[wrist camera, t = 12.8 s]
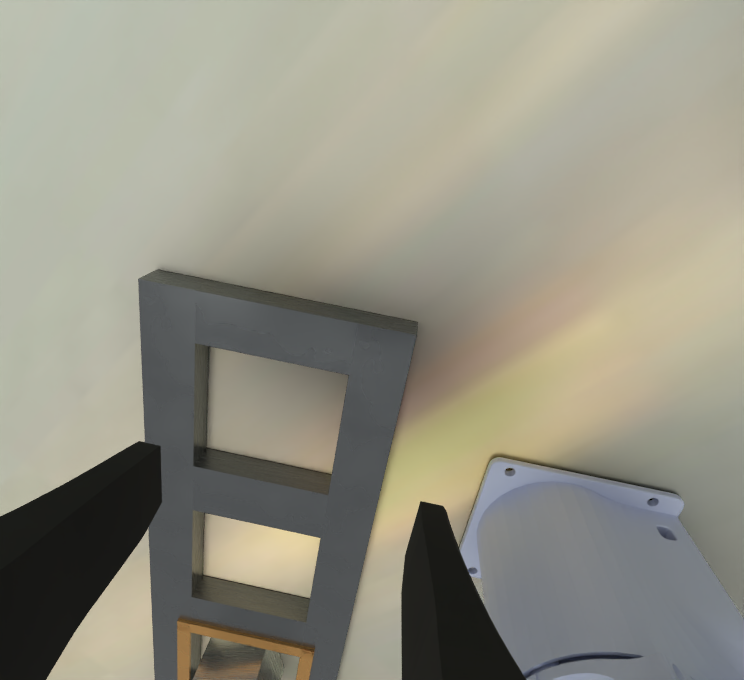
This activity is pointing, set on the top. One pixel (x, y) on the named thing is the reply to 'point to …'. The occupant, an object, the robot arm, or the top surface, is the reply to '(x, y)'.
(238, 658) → the block
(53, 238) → the top surface
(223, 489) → the rail
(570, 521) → the robot arm
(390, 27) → the top surface
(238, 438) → the top surface
